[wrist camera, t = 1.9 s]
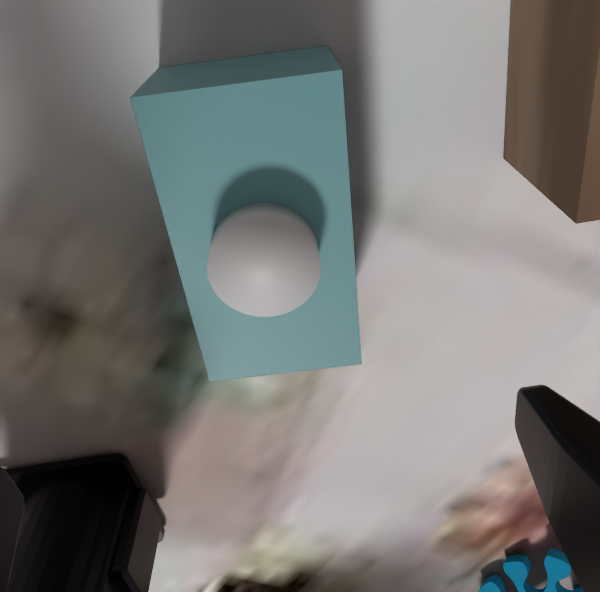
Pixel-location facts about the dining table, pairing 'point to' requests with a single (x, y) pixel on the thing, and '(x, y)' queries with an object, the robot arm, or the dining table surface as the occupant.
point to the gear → (519, 570)
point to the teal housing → (257, 207)
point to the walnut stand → (556, 101)
